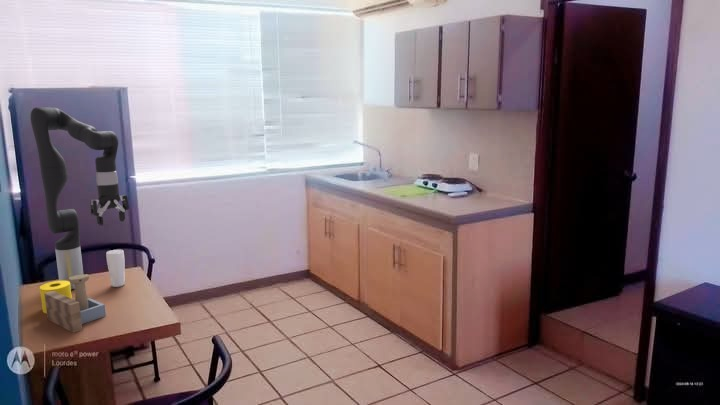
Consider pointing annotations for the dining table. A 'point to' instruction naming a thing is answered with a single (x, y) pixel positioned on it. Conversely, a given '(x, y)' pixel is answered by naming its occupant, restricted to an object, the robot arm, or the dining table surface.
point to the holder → (92, 311)
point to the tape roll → (56, 286)
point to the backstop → (63, 311)
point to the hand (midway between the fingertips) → (111, 223)
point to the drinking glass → (116, 267)
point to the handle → (80, 290)
